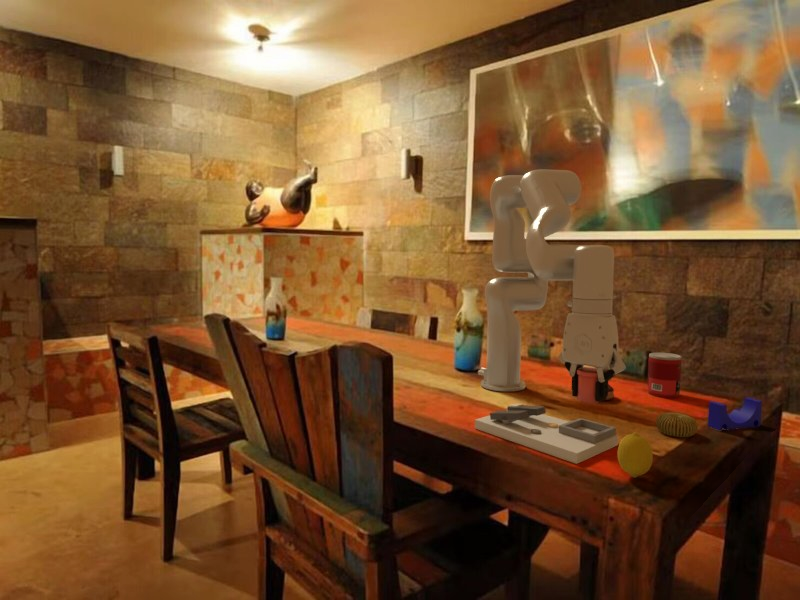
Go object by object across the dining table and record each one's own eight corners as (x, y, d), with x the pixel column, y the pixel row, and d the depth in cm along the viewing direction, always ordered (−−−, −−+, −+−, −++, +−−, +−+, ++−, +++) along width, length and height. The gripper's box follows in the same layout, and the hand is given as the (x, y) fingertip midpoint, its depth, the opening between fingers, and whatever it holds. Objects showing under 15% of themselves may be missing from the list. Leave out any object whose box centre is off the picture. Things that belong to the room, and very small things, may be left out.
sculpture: (686, 423, 107) (649, 414, 114) (685, 442, 107) (648, 432, 114) (705, 416, 112) (668, 408, 118) (704, 435, 112) (667, 425, 119)
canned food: (683, 399, 140) (685, 358, 139) (651, 397, 141) (653, 357, 140) (674, 391, 147) (676, 353, 146) (644, 390, 149) (645, 351, 148)
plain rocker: (491, 423, 114) (489, 413, 114) (500, 421, 116) (498, 410, 116) (520, 424, 108) (518, 413, 108) (529, 421, 110) (527, 410, 110)
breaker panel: (474, 428, 115) (475, 412, 115) (517, 415, 125) (517, 400, 125) (576, 463, 96) (577, 445, 96) (617, 445, 106) (618, 428, 105)
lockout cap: (571, 399, 106) (571, 370, 105) (584, 395, 109) (585, 366, 109) (593, 404, 102) (594, 374, 102) (607, 400, 105) (608, 370, 105)
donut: (597, 391, 148) (598, 377, 147) (622, 400, 138) (623, 386, 138) (567, 394, 144) (567, 380, 144) (590, 404, 135) (591, 389, 135)
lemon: (610, 471, 93) (612, 427, 92) (640, 470, 93) (642, 426, 93) (626, 485, 88) (628, 438, 87) (658, 484, 88) (660, 437, 87)
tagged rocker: (508, 417, 118) (507, 405, 118) (516, 414, 120) (515, 403, 120) (537, 419, 112) (536, 407, 112) (546, 417, 114) (544, 405, 114)
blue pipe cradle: (741, 420, 122) (743, 395, 122) (760, 427, 118) (762, 401, 117) (701, 425, 118) (703, 399, 118) (719, 432, 114) (721, 405, 114)
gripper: (544, 305, 108) (542, 392, 110) (623, 312, 95) (619, 410, 97) (565, 303, 113) (563, 387, 114) (643, 309, 100) (639, 403, 101)
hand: (589, 397), depth 106 cm, fingers closed on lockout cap, 4 cm apart
